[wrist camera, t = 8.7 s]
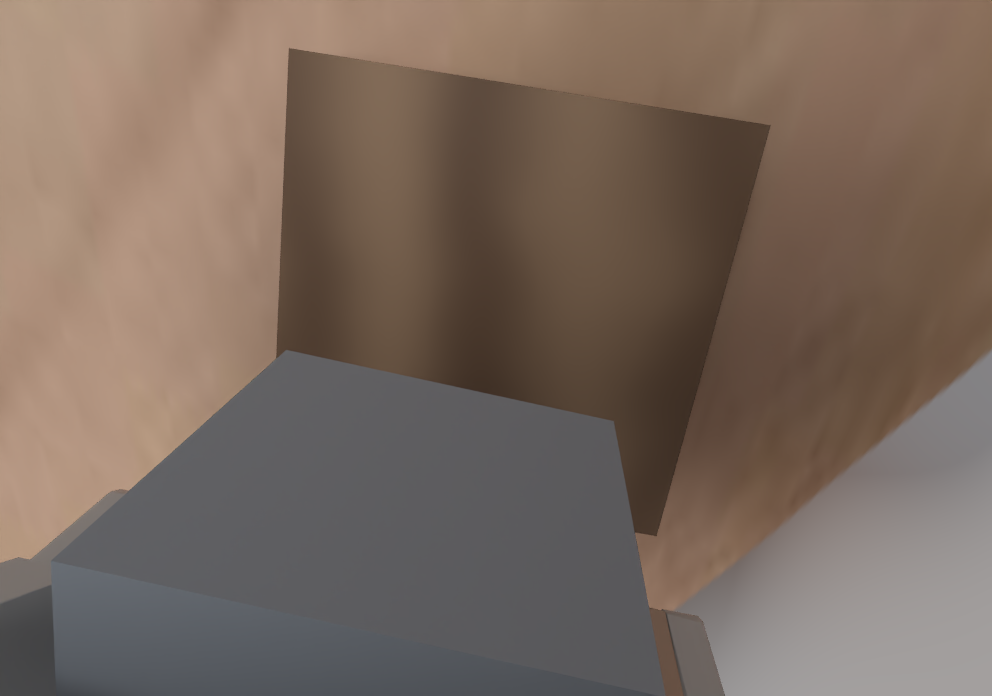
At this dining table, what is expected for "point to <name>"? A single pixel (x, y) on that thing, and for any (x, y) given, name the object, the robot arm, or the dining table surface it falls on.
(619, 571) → the slate cube
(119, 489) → the robot arm
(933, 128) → the dining table surface
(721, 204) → the walnut block
